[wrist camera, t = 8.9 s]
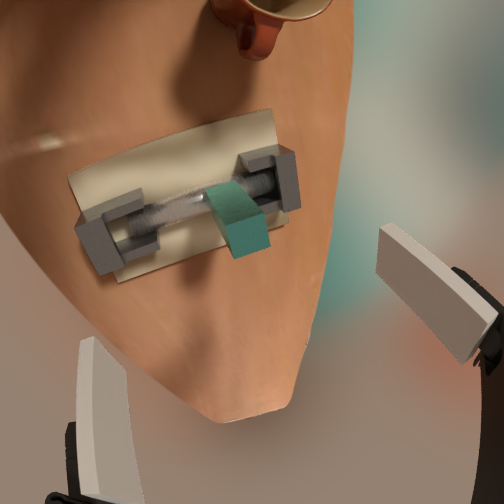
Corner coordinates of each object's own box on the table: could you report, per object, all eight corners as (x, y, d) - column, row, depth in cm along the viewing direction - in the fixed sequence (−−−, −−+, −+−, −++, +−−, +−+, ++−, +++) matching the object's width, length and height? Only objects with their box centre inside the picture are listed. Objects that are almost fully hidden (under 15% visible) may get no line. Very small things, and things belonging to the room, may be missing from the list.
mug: (209, -36, 18) (238, -80, 9) (288, -17, 21) (341, -45, 13) (186, 60, 23) (203, 45, 15) (269, 74, 26) (320, 72, 18)
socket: (238, 153, 29) (250, 163, 26) (277, 143, 30) (294, 151, 27) (249, 205, 33) (261, 220, 30) (285, 194, 34) (301, 207, 30)
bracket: (81, 211, 27) (74, 228, 23) (141, 187, 28) (140, 201, 24) (103, 255, 30) (99, 276, 27) (159, 234, 31) (161, 253, 28)
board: (69, 174, 25) (67, 176, 24) (268, 108, 28) (271, 109, 28) (118, 277, 33) (118, 282, 32) (286, 219, 37) (289, 222, 36)
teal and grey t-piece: (127, 206, 28) (120, 263, 19) (263, 162, 30) (312, 197, 22) (137, 230, 30) (136, 293, 21) (267, 186, 32) (315, 230, 24)
